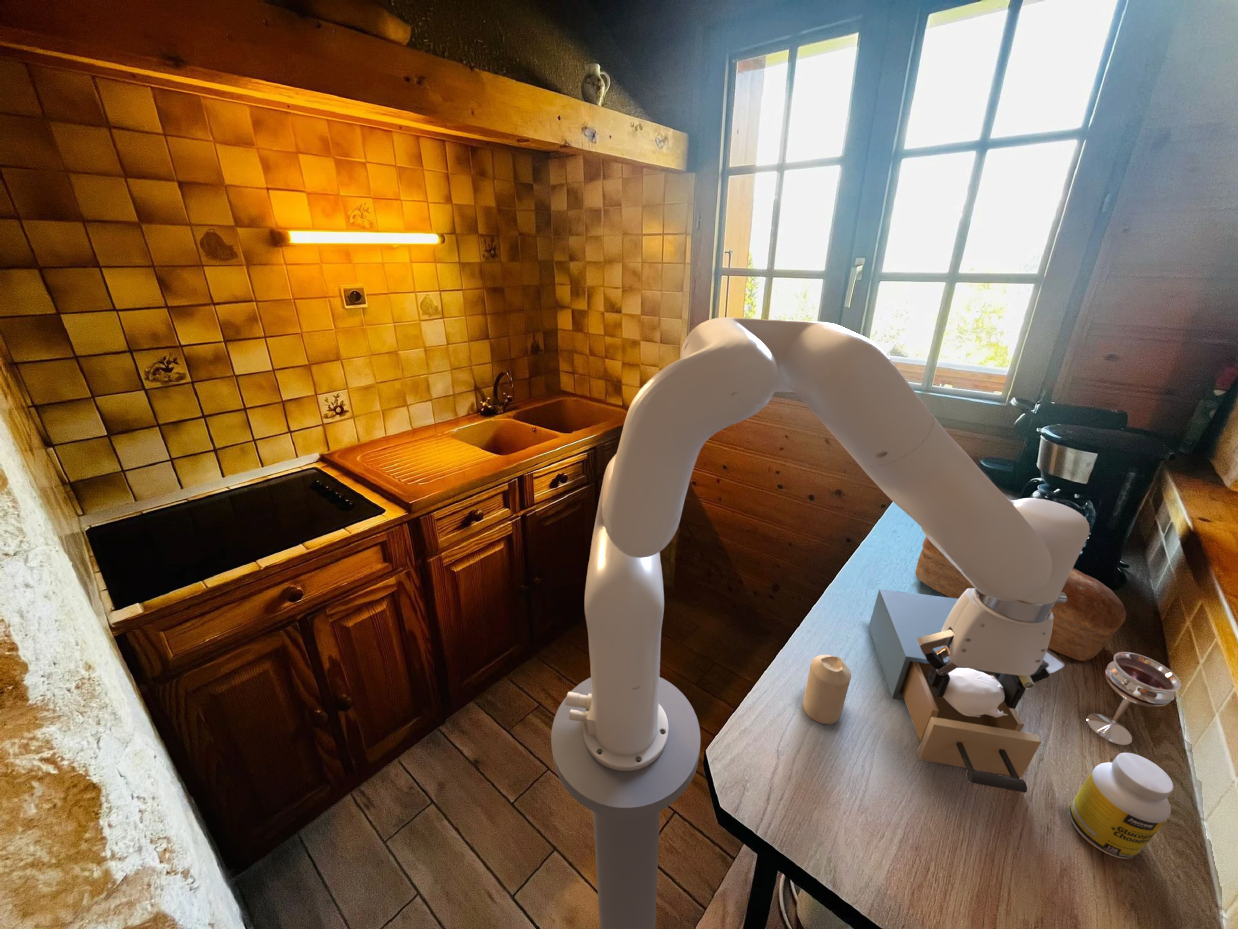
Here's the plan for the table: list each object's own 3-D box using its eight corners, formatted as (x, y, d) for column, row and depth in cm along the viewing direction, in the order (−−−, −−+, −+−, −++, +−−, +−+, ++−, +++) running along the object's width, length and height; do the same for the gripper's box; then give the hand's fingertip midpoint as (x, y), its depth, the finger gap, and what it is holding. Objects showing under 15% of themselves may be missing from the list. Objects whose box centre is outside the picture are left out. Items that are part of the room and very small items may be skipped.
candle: (822, 688, 79) (833, 643, 75) (848, 717, 74) (861, 670, 70) (794, 700, 77) (804, 654, 73) (820, 730, 73) (832, 682, 68)
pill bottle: (1081, 850, 58) (1124, 791, 53) (1057, 796, 64) (1093, 738, 59) (1150, 870, 56) (1201, 811, 51) (1119, 812, 62) (1162, 754, 57)
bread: (930, 558, 110) (947, 506, 104) (1112, 643, 87) (1147, 583, 81) (902, 579, 103) (919, 525, 97) (1091, 676, 80) (1127, 614, 75)
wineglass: (1153, 743, 70) (1195, 685, 65) (1118, 756, 68) (1159, 697, 63) (1100, 704, 76) (1134, 647, 71) (1067, 714, 74) (1100, 657, 69)
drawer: (1043, 819, 60) (1066, 783, 57) (933, 798, 63) (949, 762, 60) (974, 688, 78) (989, 654, 75) (890, 675, 80) (901, 642, 77)
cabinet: (988, 713, 75) (1008, 671, 71) (891, 698, 77) (905, 656, 73) (949, 638, 88) (964, 599, 84) (868, 627, 91) (879, 589, 87)
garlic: (979, 677, 71) (987, 658, 70) (1014, 719, 65) (1024, 699, 64) (925, 679, 71) (932, 660, 70) (954, 721, 65) (963, 701, 63)
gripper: (1076, 584, 62) (1027, 682, 69) (924, 567, 65) (894, 662, 73) (1117, 627, 55) (1058, 730, 63) (946, 606, 58) (909, 706, 66)
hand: (970, 693), depth 67 cm, fingers closed on garlic, 8 cm apart
